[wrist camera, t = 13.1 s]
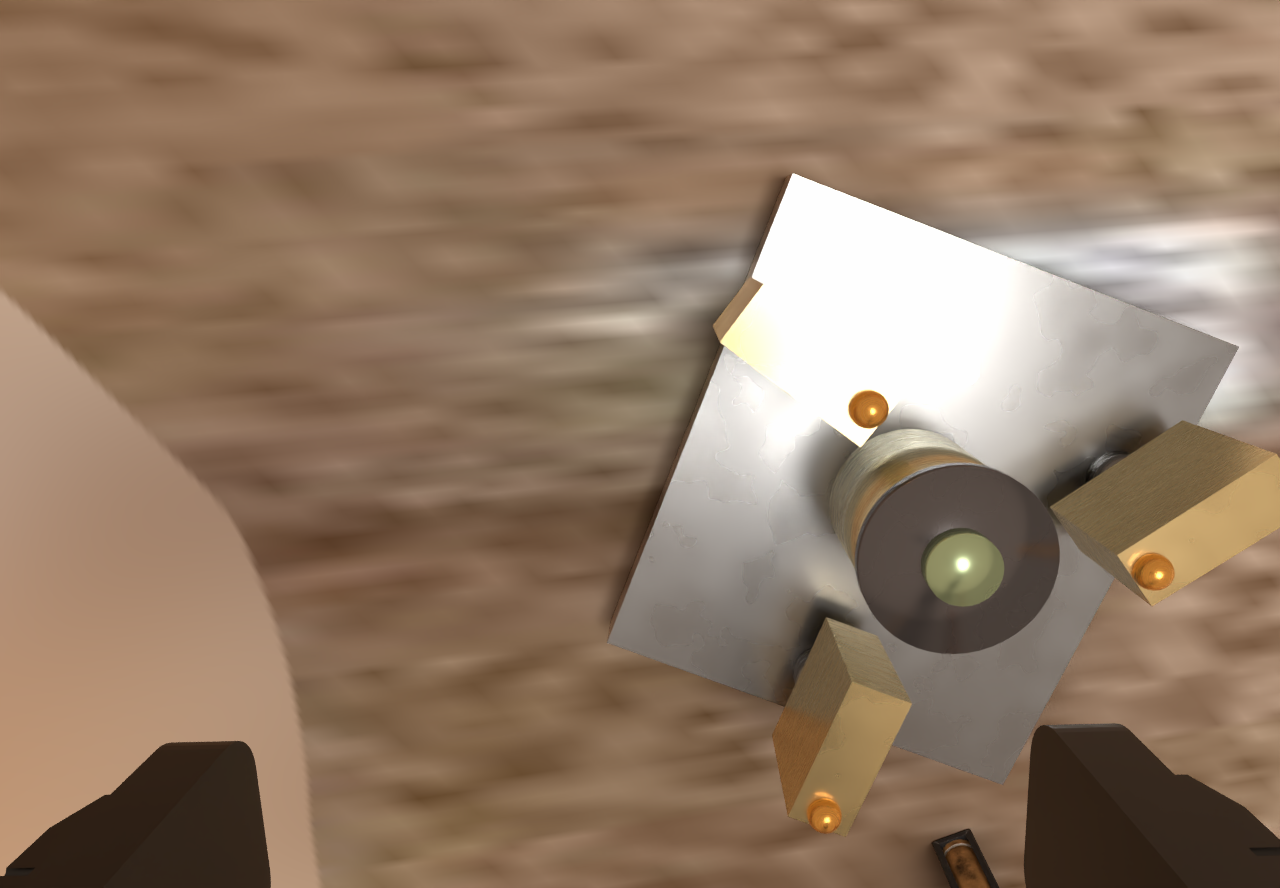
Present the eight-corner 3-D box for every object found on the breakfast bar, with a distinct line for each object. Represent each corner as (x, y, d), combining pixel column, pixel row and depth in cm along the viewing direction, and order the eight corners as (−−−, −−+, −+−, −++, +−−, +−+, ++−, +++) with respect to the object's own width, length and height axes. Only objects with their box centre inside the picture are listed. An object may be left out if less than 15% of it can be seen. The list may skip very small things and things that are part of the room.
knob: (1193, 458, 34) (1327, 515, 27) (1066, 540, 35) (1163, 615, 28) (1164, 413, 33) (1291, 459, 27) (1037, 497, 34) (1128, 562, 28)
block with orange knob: (870, 622, 36) (917, 714, 29) (817, 736, 37) (849, 850, 30) (821, 604, 36) (856, 692, 29) (769, 719, 37) (790, 829, 30)
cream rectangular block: (746, 275, 33) (766, 285, 26) (862, 363, 33) (912, 396, 27) (711, 322, 33) (721, 344, 26) (826, 408, 34) (865, 452, 27)
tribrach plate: (986, 757, 39) (1079, 913, 30) (610, 622, 38) (590, 740, 29) (1207, 340, 35) (1394, 377, 26) (786, 177, 34) (826, 155, 25)
